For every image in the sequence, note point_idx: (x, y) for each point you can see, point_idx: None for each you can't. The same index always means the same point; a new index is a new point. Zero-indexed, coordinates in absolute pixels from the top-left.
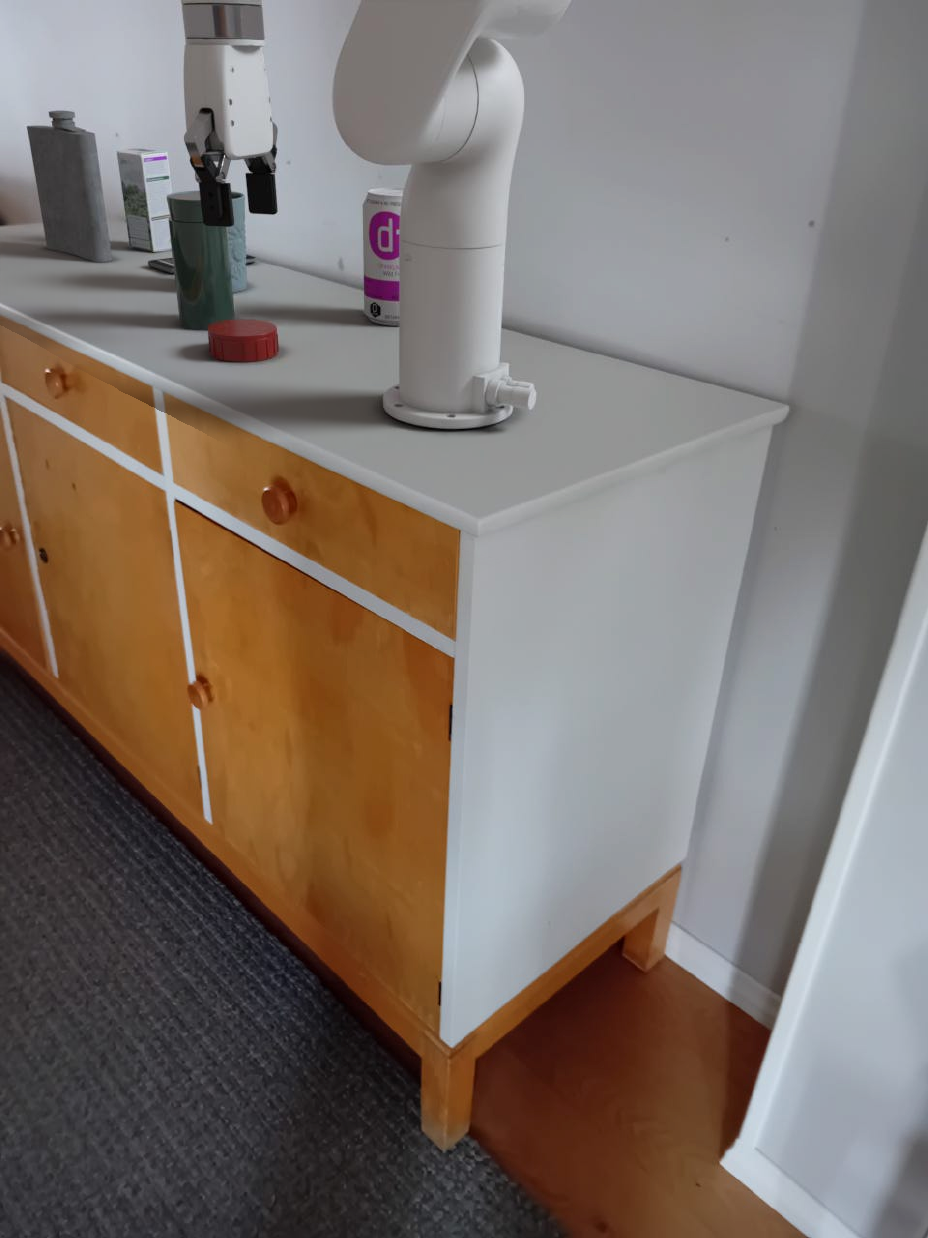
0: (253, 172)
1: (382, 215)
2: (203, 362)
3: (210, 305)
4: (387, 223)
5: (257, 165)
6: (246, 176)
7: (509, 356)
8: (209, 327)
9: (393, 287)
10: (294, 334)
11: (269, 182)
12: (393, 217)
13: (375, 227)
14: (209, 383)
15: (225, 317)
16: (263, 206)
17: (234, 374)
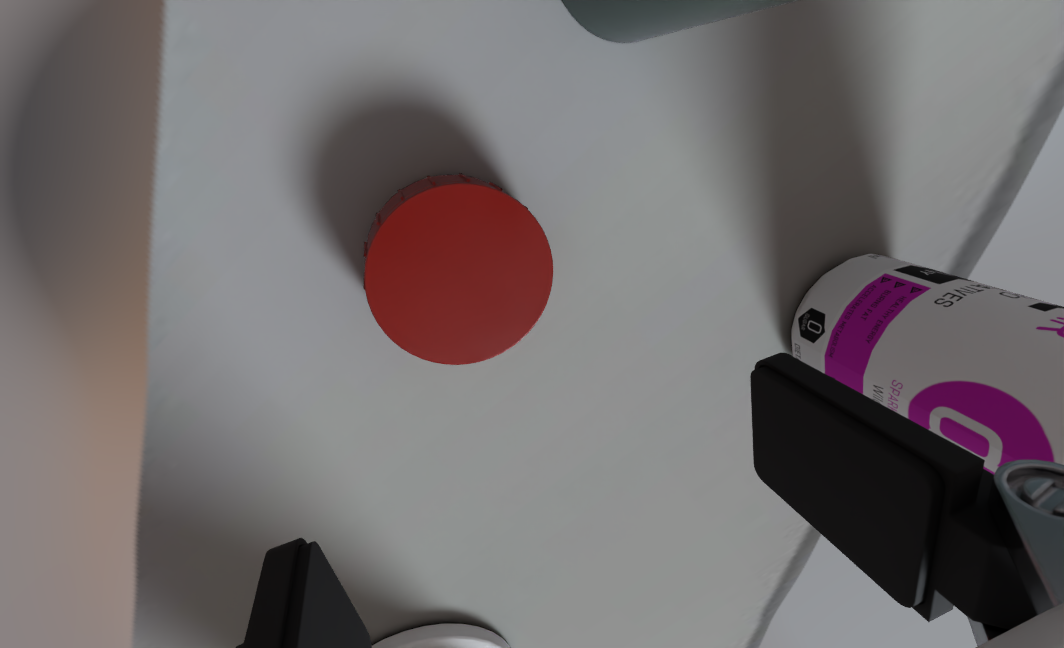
0: (950, 531)
1: None
2: (318, 245)
3: (605, 8)
4: None
5: (1013, 580)
6: (922, 473)
7: (699, 573)
8: (399, 212)
9: None
10: (648, 237)
11: (873, 575)
12: None
13: (1005, 426)
14: (206, 382)
15: (626, 38)
16: (775, 449)
17: (304, 370)
